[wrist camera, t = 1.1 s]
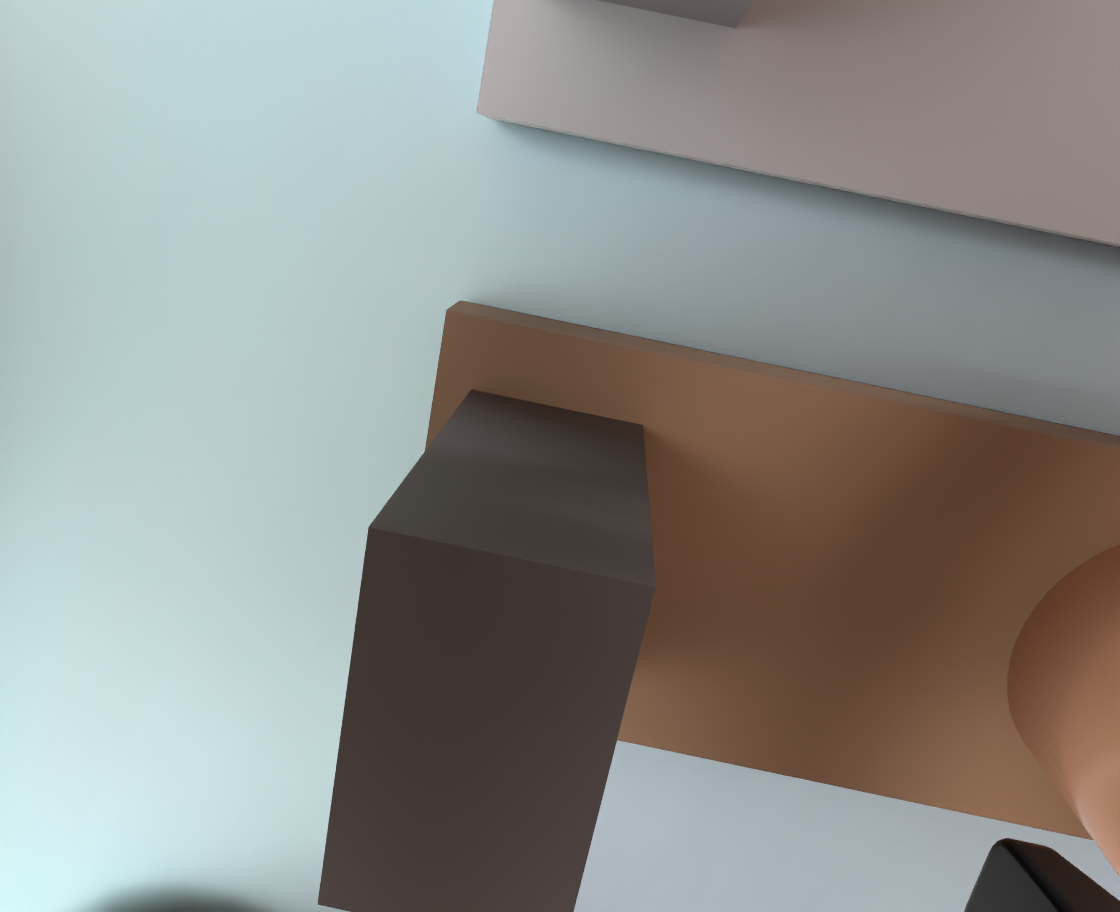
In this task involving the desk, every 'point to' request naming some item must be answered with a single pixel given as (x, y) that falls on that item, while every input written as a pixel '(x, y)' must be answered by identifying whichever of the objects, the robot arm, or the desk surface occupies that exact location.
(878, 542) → the walnut strip
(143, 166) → the desk surface
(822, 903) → the desk surface
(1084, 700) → the peach rounded knob
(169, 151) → the desk surface
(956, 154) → the grey strip
